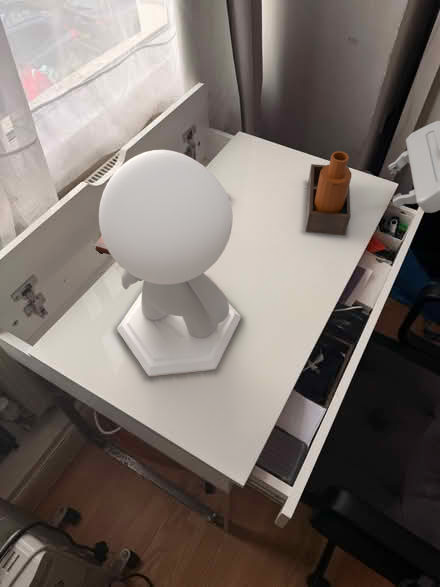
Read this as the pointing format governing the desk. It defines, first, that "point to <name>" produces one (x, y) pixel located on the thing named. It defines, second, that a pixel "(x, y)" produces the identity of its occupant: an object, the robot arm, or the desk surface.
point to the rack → (324, 220)
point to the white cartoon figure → (170, 260)
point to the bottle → (333, 184)
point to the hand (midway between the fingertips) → (391, 186)
